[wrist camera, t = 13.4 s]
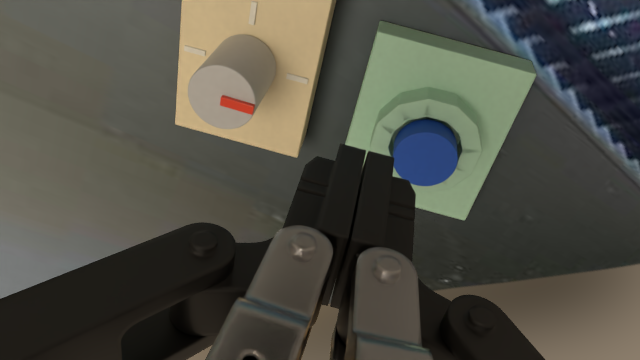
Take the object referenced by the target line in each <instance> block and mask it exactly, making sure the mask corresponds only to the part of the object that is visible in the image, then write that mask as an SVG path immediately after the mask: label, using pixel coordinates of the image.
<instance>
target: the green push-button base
mask: <svg viewBox="0 0 640 360" xmlns="http://www.w3.org/2000/svg"><path fill="white" fill-rule="evenodd" d="M536 75H537V74H536V71H535V69H534V66H533V64H532V61H530V60H526V59H522V58H519V57H515V56H511V55H507V54H504V53H500V52H496V51H493V50H489V49H485V48H481V47H478V46H474V45H470V44H467V43H463V42H459V41H455V40H452V39H448V38H444V37H441V36H437V35H433V34H429V33H426V32H422V31H418V30H415V29H411V28H407V27H403V26H400V25H396V24H392V23H389V22H385V21H380V22H379V25H378V29H377V32H376V36H375V40H374V43H373V47H372V50H371V54H370V57H369V61H368V64H367V68H366V71H365V75H364V78H363V82H362V86H361V89H360V93H359V96H358V100H357V103H356V107H355V110H354V114H353V117H352V121H351V124H350V128H349V132H348V135H347V139H346V142H345V145H348V146H352V147H356V148H360V149H364V150H366V154H365V159H366V156H367V153H368V151H372V152H375V153H379V154H383V155H387V156H391V157H393V149H394V141H395V138H396V136H397V134H398V132H399V131H400V130H401V129H402V128H403V127H404V126H406V125H407V124H409V123H411V122H413V121H417V120H422V119H429V120H435V121H438V122H440V123H443V124H444V125H446V126H447V127H448V128H449V129H450V130H451V131H452V132H453V134H454V136H455V138H456V142H457V153H458V163H457V166H456V169H455V171H454V172H453V174H452V175H451V176H450V177H449V178H448V179H447V180H445V181H443V182H442V183H439V184H437V185H433V186H418V185H414V184H411V183H410V184H411V186H412V188H413V190H414V192H415V194H416V200H415V207H417V208H420V209H424V210H427V211H431V212H435V213H438V214H442V215H446V216H449V217H453V218H457V219H460V220H465V219H466V217H467V215H468V213H469V211H470V209H471V207H472V205H473V203H474V201H475V199H476V197H477V195H478V193H479V191H480V189H481V187H482V185H483V183H484V181H485V179H486V177H487V175H488V173H489V170H490V168H491V166H492V164H493V162H494V160H495V158H496V156H497V154H498V152H499V150H500V148H501V146H502V144H503V142H504V140H505V138H506V136H507V134H508V132H509V130H510V128H511V126H512V124H513V122H514V120H515V118H516V116H517V114H518V112H519V110H520V108H521V106H522V104H523V102H524V100H525V98H526V96H527V94H528V91H529V89H530V87H531V85H532V83H533V81H534V79H535V77H536ZM365 159H364V163H365ZM363 166H364V164H363ZM393 176H394V177H398V178H401V177H400V176H399V175H398V173H397V172H396V170H395V168H393Z"/></svg>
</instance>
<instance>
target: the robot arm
mask: <svg viewBox="0 0 640 360" xmlns="http://www.w3.org/2000/svg"><path fill="white" fill-rule="evenodd" d="M365 154H366V150H364V149H360V148H356V147H352V146H348V145H345V144H341V143H340V147H339V150H338V154H337V158H336V161H333V160H329V159H325V158H322V157H318V156H317V157H315V158H314V159H313V160H311V161H310V162H309V163H308V164H306V165H305V168H304V170H303V173H302V176H301V179H300V182H299V184H298V187H297V190H296V193H295V196H294V198H293V201H292V204H291V207H290V210H289V212H288V215H287V218H286V221H285V223H284V226H283V228H282V229H281V230H280V231H278V232H277V233H276V234H275V236H274V237H273V238H271V239H269V240H266V241H263V242H258V243H236V242H235V239H234V237H233V236H232V235H231V233H230V232H228V231H227V230H226V229H224V228H223V227H221V226H218V225H215V224H211V223H194V224H190V225H186V226H184V227H181V228H179V229H176V230H174V231H171V232H169V233H166V234H164V235H161V236H159V237H156V238H154V239H151V240H148V241H146V242H143V243H141V244H138V245H136V246H133V247H131V248H128V249H126V250H123V251H121V252H118V253H116V254H113V255H110V256H108V257H105V258H103V259H100V260H98V261H95V262H93V263H90V264H88V265H85V266H83V267H80V268H78V269H75V270H72V271H70V272H67V273H65V274H62V275H60V276H57V277H55V278H52V279H50V280H47V281H45V282H42V283H40V284H37V285H34V286H32V287H29V288H27V289H24V290H22V291H19V292H17V293H14V294H12V295H9V296H7V297H4V298H2V299H0V360H186V359H188V358H190V357H192V356H194V355H195V354H197V353H199V352H201V351H202V350H204V349H206V348H208V347H209V346H211V345H212V347H211V349H210V351H209V353H208V355H207V357H206V359H205V360H301V358H302V355H303V352H304V349H305V346H306V343H307V340H308V337H309V334H310V331H311V328H312V326H313V325H314V324H315V322H316V320H317V317H318V314H319V310H320V307H321V304H322V305H326V306H328V303H329V299H330V296H331V293H332V290H333V287H334V291H333V296H332V300H331V305H330V306H331V307H335V308H338V309H339V313H338V319H337V322H336V326H335V328H334V331H333V335H332V342H331V351H330V360H545V359H544V358H543V357H542V355H541V354H540V353H539V352H538V351H537V350H536V349H535V348H534V346H533V345H532V344H531V343H530V342H529V341H528V339H527V338H526V337H525V336H524V335H523V334H522V333H521V331H520V330H519V329H518V328H517V327H516V326H515V325H514V323H513V322H512V321H511V320H510V319H509V318H508V317H507V315H506V314H505V313H504V312H503V311H502V310H501V309H500V308H499V307H498V306H496V305H495V304H494V303H492V302H491V301H489V300H487V299H485V298H482V297H479V296H475V295H462V296H459V297H457V298H455V299H454V300H452V302H451V301H450V300H448V299H446V298H444V297H442V296H441V295H439V294H437V293H435V292H434V291H432V290H430V289H429V288H428V287H427V286H425V285H424V284H423V283H422V282H421V280H420V279H419V278H418V276H417V271H416V268H415V267H414V265H413V263H412V253H413V235H414V218H415V200H416V194H415V192H414V190H413V188H412V186H411V184H410V182H409V180H405V179H402V178H398V177H394V176H393V168H394V157H391V156H387V155H383V154H379V153H375V152H372V151H368V153H367V156H366V159H365ZM364 159H365V163H364ZM363 164H364V166H363ZM335 280H336V281H335ZM334 283H335V286H334Z"/></svg>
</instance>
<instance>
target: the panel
mask: <svg viewBox="0 0 640 360" xmlns="http://www.w3.org/2000/svg"><path fill="white" fill-rule="evenodd" d="M335 4H336V0H182V8H181V27H180V45H179V64H178V82H177V101H176V119H175V124H176V125H180V126H183V127H187V128H191V129H194V130H198V131H201V132H205V133H209V134H212V135H216V136H220V137H223V138H227V139H231V140H234V141H238V142H242V143H245V144H249V145H252V146H256V147H260V148H263V149H267V150H271V151H274V152H278V153H282V154H285V155H289V156H292V157H298V155H299V152H300V149H301V147H302V144H303V142H304V139H305V136H306V132H307V127H308V123H309V119H310V114H311V110H312V105H313V101H314V97H315V92H316V88H317V83H318V79H319V75H320V70H321V66H322V61H323V57H324V53H325V48H326V44H327V39H328V35H329V31H330V26H331V22H332V17H333V13H334V9H335ZM238 34H244V35H250V36H253V37H255V38H257V39H259V40H261V41H262V42H263V43H264V44H266V45H267V47H268V48H269V49H270V50H271V52H272V54H273V56H274V58H275V62H276V75H275V78H274V80H273V82H272V84H271V86H270V87H269V89H268V91H267V92H266V94H265V96H264V98H263V99H262V101H261V103H260V104H259V106H258V108H257V110H256V111H255V113H254V115H253V116H252V118H251V119H250V120H249V121H248V122H247V123H246V124H245V125H243V126H241V127H239V128H235V129H221V128H217V127H214V126H212V125H210V124H208V123H206V122H205V121H203V120H202V119H201V118H200V117H199V116H198V115H197V114H196V113H195V111H194V110H193V108H192V106H191V104H190V101H189V98H188V84H189V81H190V79H191V77H192V75H193V74H194V73H195V72H196V71H197V70H198V68H199V67H200V66H201V65H202V64H203V63H204V62H205V61H206V60H207V58H208V57H209V56H210V55H211V54H212V53H213V52H214V51H215V50H216V48H217V47H218V46H219V45H220V44H221V43H222V42H223V41H224V40H225V39H227V38H228V37H230V36H233V35H238Z"/></svg>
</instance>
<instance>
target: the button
mask: <svg viewBox="0 0 640 360" xmlns="http://www.w3.org/2000/svg"><path fill="white" fill-rule="evenodd" d="M393 157H394V168H395V170H396V172H397V173H398V175H399V176H400V177H401V178H402V179H405V180H409V182H410V183H411V184H414V185H418V186H433V185H437V184H439V183H442V182H443V181H445V180H447V179H448V178H449V177H450V176H451V175H452V174H453V172H454V171H455V169H456V166H457V163H458V153H457V142H456V138H455V136H454V134H453V132H452V131H451V130H450V129H449V128H448V127H447V126H446V125H444V124H443V123H440V122H438V121H435V120H429V119H422V120H417V121H413V122H411V123H409V124H407V125H406V126H404V127H403V128H402V129H401V130H400V131H399V132H398V134H397V136H396V138H395V141H394V149H393Z"/></svg>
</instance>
